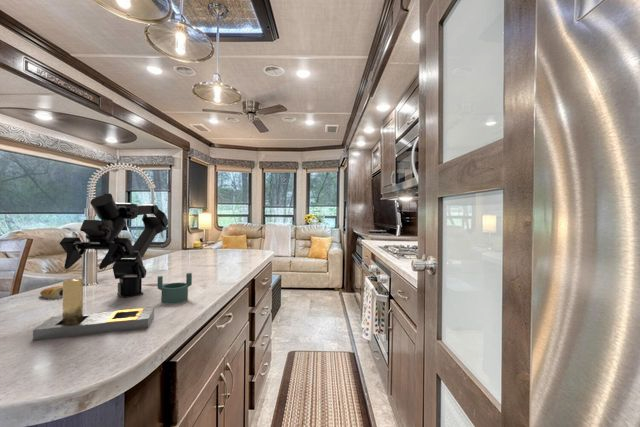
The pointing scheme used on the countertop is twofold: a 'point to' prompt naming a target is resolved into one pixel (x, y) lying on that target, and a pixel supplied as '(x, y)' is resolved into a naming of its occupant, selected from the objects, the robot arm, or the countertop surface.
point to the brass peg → (72, 301)
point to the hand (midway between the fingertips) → (82, 268)
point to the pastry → (53, 292)
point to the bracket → (174, 290)
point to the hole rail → (95, 324)
